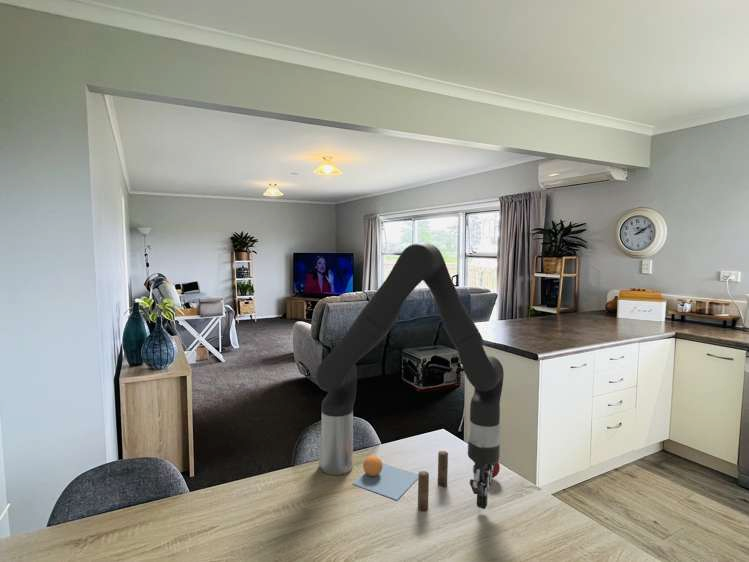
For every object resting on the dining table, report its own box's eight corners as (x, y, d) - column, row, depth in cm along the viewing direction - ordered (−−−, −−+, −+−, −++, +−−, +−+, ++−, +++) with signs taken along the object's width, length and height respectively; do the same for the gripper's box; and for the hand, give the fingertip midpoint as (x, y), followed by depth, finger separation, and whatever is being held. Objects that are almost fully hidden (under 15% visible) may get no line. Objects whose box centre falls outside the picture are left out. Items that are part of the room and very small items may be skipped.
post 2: (436, 485, 116) (436, 453, 115) (439, 480, 118) (440, 450, 117) (445, 488, 114) (445, 456, 114) (448, 483, 117) (449, 452, 116)
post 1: (416, 509, 105) (416, 474, 104) (420, 503, 107) (421, 469, 107) (425, 512, 104) (426, 477, 103) (429, 507, 106) (430, 472, 105)
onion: (500, 486, 116) (501, 458, 115) (478, 483, 117) (479, 455, 116) (498, 474, 121) (499, 448, 121) (477, 472, 123) (478, 446, 122)
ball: (358, 474, 120) (361, 456, 119) (368, 465, 125) (371, 449, 124) (374, 483, 117) (377, 465, 116) (384, 474, 122) (387, 457, 121)
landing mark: (352, 484, 116) (352, 483, 116) (378, 462, 128) (378, 461, 128) (397, 500, 109) (397, 499, 109) (420, 475, 120) (420, 475, 120)
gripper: (477, 425, 110) (475, 489, 112) (459, 445, 99) (457, 515, 100) (506, 432, 106) (504, 498, 108) (491, 454, 95) (489, 527, 96)
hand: (481, 506), depth 104 cm, fingers closed
